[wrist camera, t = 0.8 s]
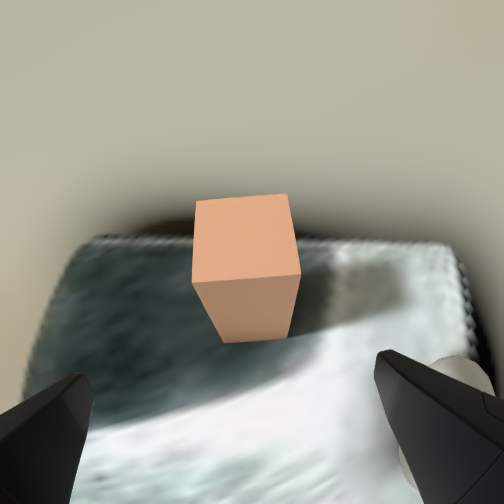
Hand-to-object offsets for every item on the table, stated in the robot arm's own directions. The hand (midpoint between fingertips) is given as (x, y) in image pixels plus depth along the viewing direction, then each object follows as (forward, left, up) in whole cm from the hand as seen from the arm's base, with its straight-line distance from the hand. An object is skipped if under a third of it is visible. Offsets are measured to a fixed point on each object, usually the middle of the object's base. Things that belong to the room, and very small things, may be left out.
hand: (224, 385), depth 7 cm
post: (+7, -4, -14) cm, 16 cm away
